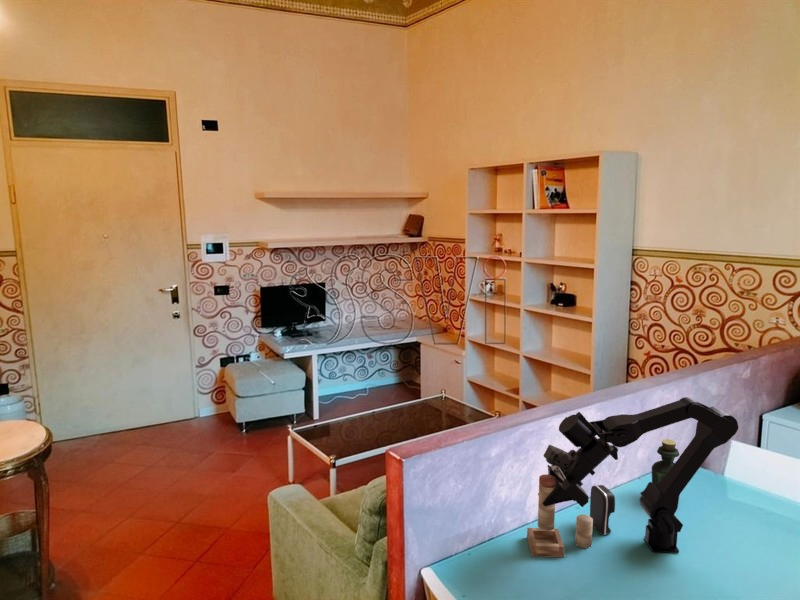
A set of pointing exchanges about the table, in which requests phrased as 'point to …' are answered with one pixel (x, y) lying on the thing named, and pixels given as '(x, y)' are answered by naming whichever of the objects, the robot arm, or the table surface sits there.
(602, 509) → the battery charger
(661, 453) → the potion bottle
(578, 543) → the short pin
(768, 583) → the table surface
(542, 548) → the light brown square frame
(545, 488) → the long pin
